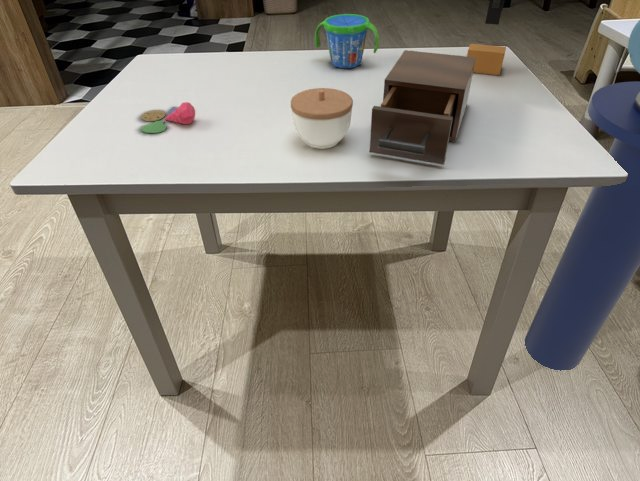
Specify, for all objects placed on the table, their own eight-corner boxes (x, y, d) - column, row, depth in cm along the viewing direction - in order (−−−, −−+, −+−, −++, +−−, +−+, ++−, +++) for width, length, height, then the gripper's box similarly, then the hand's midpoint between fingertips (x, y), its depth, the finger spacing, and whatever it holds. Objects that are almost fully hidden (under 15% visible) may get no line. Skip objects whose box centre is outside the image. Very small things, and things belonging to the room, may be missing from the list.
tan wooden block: (500, 68, 108) (506, 46, 104) (499, 75, 105) (504, 53, 101) (466, 64, 110) (470, 43, 107) (464, 71, 107) (468, 49, 103)
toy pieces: (204, 107, 95) (200, 87, 92) (192, 133, 86) (187, 111, 83) (147, 108, 95) (141, 88, 92) (130, 134, 87) (123, 112, 84)
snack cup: (307, 66, 111) (306, 22, 105) (327, 52, 118) (326, 10, 112) (366, 76, 106) (369, 30, 99) (383, 61, 113) (386, 17, 106)
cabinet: (455, 142, 82) (465, 89, 75) (380, 130, 86) (384, 79, 79) (466, 106, 93) (476, 57, 86) (400, 97, 97) (404, 50, 90)
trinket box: (330, 121, 89) (330, 74, 82) (363, 144, 82) (365, 94, 76) (282, 137, 84) (278, 87, 78) (312, 162, 78) (311, 110, 71)
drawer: (437, 183, 70) (445, 137, 65) (359, 169, 74) (361, 124, 69) (456, 125, 84) (464, 83, 79) (390, 115, 88) (393, 75, 83)
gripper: (542, -107, 76) (508, 33, 91) (543, -116, 92) (514, 5, 106) (495, -107, 78) (470, 30, 93) (504, -116, 94) (481, 2, 108)
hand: (494, 16), depth 100 cm, fingers open, 10 cm apart
